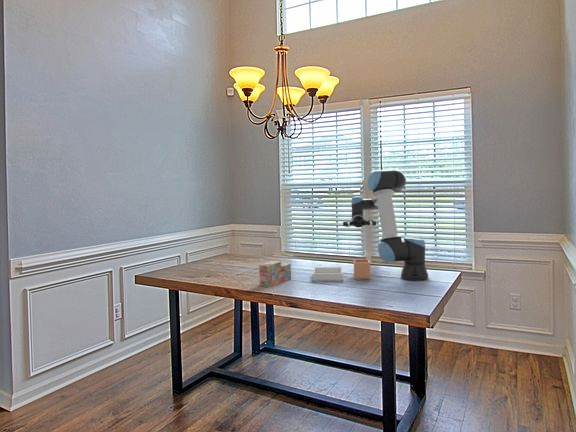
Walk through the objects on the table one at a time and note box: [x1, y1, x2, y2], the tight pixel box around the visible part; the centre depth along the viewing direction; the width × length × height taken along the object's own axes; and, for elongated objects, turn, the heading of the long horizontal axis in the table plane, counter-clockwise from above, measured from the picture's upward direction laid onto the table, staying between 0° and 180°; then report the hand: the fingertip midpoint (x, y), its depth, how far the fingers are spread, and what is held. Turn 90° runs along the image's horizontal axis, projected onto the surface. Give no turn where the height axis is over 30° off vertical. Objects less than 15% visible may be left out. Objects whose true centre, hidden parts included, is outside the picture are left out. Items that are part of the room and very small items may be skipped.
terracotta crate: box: [353, 258, 371, 281], centre depth 243 cm, size 9×9×10 cm
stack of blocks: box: [258, 260, 292, 288], centre depth 239 cm, size 21×6×12 cm, turn 143°
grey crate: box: [312, 266, 344, 283], centre depth 246 cm, size 17×17×4 cm
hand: (360, 225), depth 250 cm, fingers open, 13 cm apart
